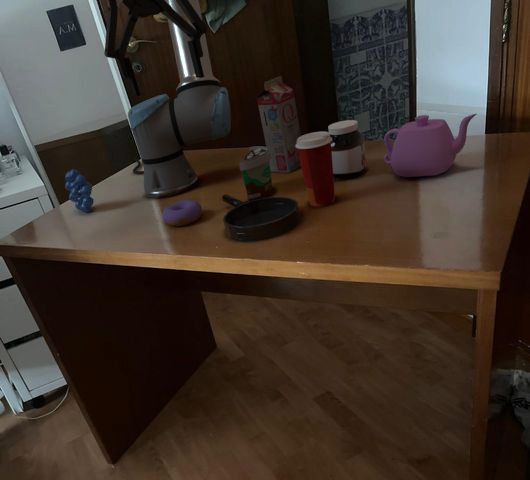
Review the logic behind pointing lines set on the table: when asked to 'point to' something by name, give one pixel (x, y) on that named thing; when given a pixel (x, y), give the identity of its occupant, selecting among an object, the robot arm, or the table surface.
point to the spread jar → (347, 149)
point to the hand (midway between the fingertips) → (169, 86)
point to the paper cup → (317, 167)
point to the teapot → (425, 146)
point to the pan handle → (232, 200)
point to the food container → (257, 173)
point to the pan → (262, 218)
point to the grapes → (79, 190)
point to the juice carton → (280, 125)
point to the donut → (182, 213)
